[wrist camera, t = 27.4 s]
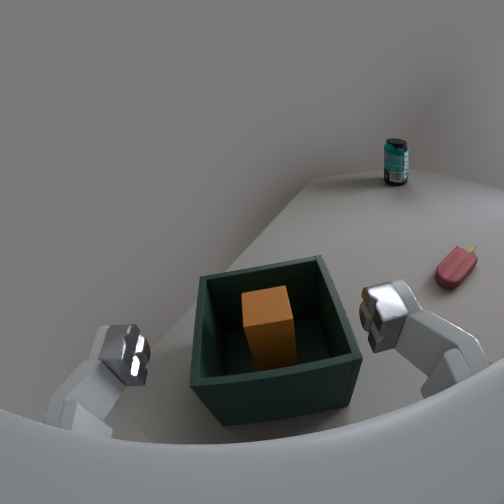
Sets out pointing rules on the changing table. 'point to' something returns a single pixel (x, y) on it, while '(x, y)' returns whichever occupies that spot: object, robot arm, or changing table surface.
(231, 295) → the open green box
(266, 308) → the orange rectangular prism
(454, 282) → the popsicle
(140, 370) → the robot arm
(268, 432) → the changing table surface
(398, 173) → the beverage can
